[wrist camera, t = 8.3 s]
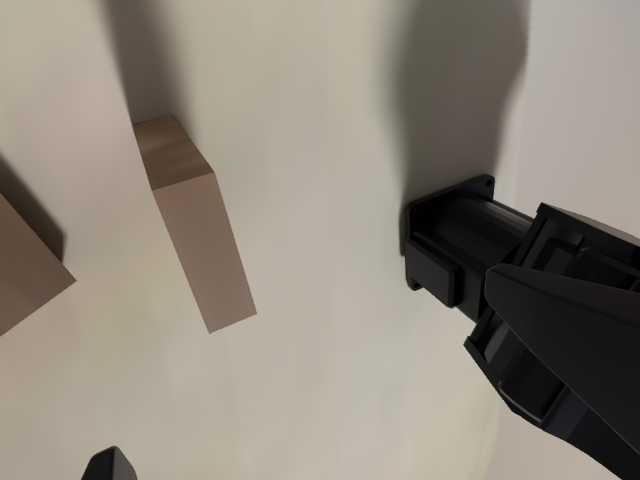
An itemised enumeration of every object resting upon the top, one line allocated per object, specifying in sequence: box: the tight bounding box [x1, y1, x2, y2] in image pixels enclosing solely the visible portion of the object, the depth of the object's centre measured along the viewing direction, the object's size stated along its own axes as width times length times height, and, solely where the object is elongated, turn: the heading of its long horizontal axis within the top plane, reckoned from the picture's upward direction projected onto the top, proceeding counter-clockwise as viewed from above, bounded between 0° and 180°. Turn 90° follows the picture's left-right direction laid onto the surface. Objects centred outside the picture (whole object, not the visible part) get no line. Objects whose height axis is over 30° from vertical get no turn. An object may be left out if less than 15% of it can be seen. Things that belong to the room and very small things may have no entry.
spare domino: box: [132, 115, 257, 334], centre depth 15 cm, size 2×5×8 cm, turn 9°
